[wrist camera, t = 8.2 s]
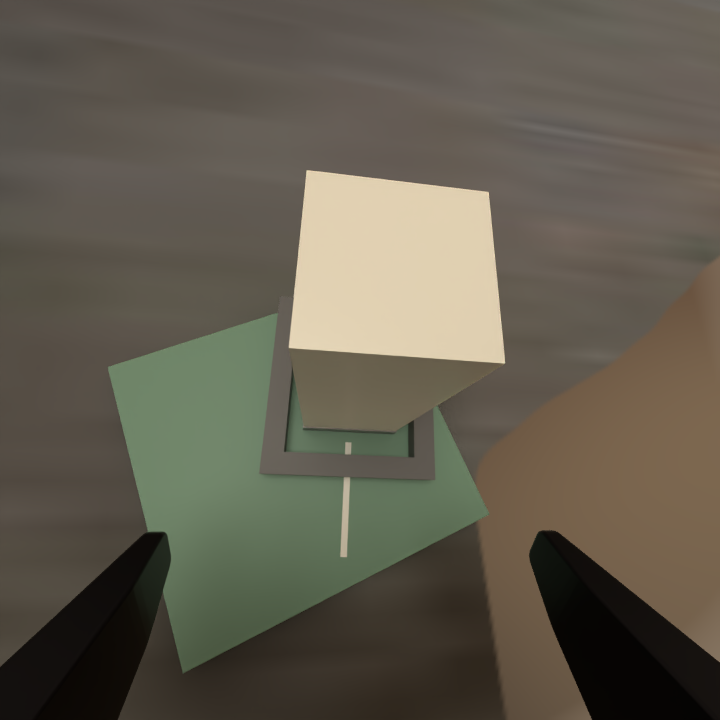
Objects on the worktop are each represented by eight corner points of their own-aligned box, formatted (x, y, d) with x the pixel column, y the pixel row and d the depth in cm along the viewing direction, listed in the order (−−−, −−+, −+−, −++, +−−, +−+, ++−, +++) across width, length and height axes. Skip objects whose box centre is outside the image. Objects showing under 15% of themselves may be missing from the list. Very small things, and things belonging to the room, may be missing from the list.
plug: (392, 434, 19) (507, 366, 8) (303, 430, 19) (286, 349, 7) (393, 339, 21) (488, 169, 9) (311, 333, 20) (307, 145, 9)
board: (508, 499, 19) (528, 501, 18) (189, 664, 16) (172, 689, 14) (396, 275, 23) (404, 257, 21) (114, 366, 19) (92, 353, 17)
